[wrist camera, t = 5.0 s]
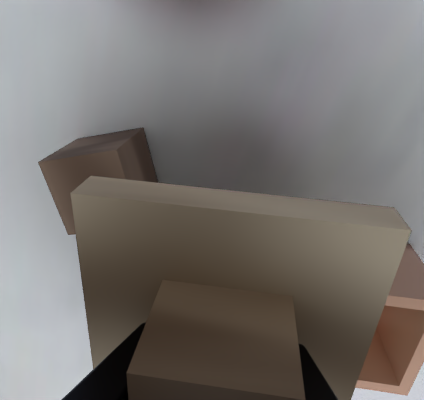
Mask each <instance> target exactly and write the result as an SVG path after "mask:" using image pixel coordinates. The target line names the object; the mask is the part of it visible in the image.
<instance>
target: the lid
mask: <svg viewBox="0 0 424 400" xmlns="http://www.w3.org/2000/svg"><path fill="white" fill-rule="evenodd" d="M70 194H71V201H72V209H73V217H74V224H75V232H76V240H77V247H78V255H79V263H80V270H81V278H82V286H83V293H84V301H85V309H86V316H87V324H88V332H89V339H90V347H91V355H92V362H93V369H94V368H95V367H96V366H98V365H99V364H100V363H101V362H102V361H103V360H104V359H105V358H106V357H107V356H108V355H109V354H110V353H111V352H112V351H113V350H114V349H115V348H116V347H117V346H118V345H120V344H121V343H122V342H123V341H124V340H125V339H126V338H127V337H128V336H129V335H130V334H131V333H132V332H133V331H134V330H135V329H136V328H137V327H138V326H139V325H140V324H142V323H144V322H146V324H145V326H144V329H143V332H142V334H141V337H140V339H139V342H138V345H137V347H136V350H135V352H134V355H133V357H132V360H131V363H130V365H129V368H128V370H127V373H126V374H127V388H128V400H305V392H304V384H303V376H302V368H301V360H300V352H299V344H302V345H304V346H305V347H306V349H307V351H308V352H309V354H310V355H311V357H312V359H313V360H314V362H315V363H316V365H317V367H318V368H319V370H320V371H321V373H322V375H323V376H324V378H325V379H326V381H327V382H328V384H329V386H330V387H331V389H332V390H333V392H334V394H335V395H336V397H337V398H338V400H351V397H352V395H353V392H354V389H355V386H356V383H357V381H358V378H359V375H360V372H361V370H362V367H363V364H364V361H365V359H366V356H367V353H368V350H369V347H370V345H371V342H372V339H373V336H374V334H375V331H376V328H377V325H378V322H379V320H380V317H381V314H382V311H383V309H384V306H385V303H386V300H387V297H388V295H389V292H390V289H391V286H392V284H393V281H394V278H395V275H396V273H397V270H398V267H399V264H400V261H401V259H402V256H403V253H404V250H405V248H406V245H407V242H408V239H409V236H410V234H411V231H412V230H411V229H410V228H409V226H408V225H407V224H406V222H405V221H404V220H403V218H402V217H401V216H400V214H399V213H398V212H397V210H396V209H395V208H394V207H385V206H375V205H366V204H356V203H347V202H337V201H328V200H318V199H308V198H299V197H289V196H280V195H270V194H261V193H251V192H241V191H232V190H222V189H213V188H203V187H193V186H184V185H174V184H165V183H155V182H146V181H136V180H126V179H117V178H107V177H98V176H90V177H89V178H87V179H86V180H85V181H84V182H83V183H82V184H80V185H79V186H78V187H77V188H76V189H75V190H74V191H72V192H71V193H70Z"/></svg>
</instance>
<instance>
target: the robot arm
mask: <svg viewBox="0 0 424 400" xmlns="http://www.w3.org/2000/svg"><path fill="white" fill-rule="evenodd" d="M145 324H146V322H144V323H142V324H140V325H139V326H138V327H137V328H136V329H135V330H134V331H133V332H132V333H131V334H130V335H129V336H128V337H127V338H126V339H125V340H124V341H123V342H122V343H121V344H120V345H118V346H117V347H116V348H115V349H114V350H113V351H112V352H111V353H110V354H109V355H108V356H107V357H106V358H105V359H104V360H103V361H102V362H101V363H100V364H99V365H98V366H96V367H95V368H94V369H93V370H92V371H91V372H90V373H89V374H88V375H87V376H86V377H85V378H84V379H83V380H82V381H81V382H80V383H79V384H78V385H77V386H76V387H75V388H73V389H72V390H71V391H70V392H69V393H68V394H67V395H66V396H65V397H64V398H63V399H62V400H128V388H127V374H126V373H127V370H128V368H129V365H130V363H131V360H132V357H133V355H134V352H135V350H136V347H137V345H138V342H139V339H140V337H141V334H142V332H143V329H144V326H145ZM299 352H300V360H301V368H302V376H303V384H304V392H305V400H338V398H337V397H336V395H335V394H334V392H333V390H332V389H331V387H330V386H329V384H328V382H327V381H326V379H325V378H324V376H323V375H322V373H321V371H320V370H319V368H318V367H317V365H316V363H315V362H314V360H313V359H312V357H311V355H310V354H309V352H308V351H307V349H306V347H305V346H304V345H302V344H299Z"/></svg>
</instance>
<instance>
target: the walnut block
mask: <svg viewBox="0 0 424 400" xmlns="http://www.w3.org/2000/svg"><path fill="white" fill-rule="evenodd" d="M38 163H39V166H40V168H41V171H42V173H43V175H44V178H45V180H46V183H47V185H48V187H49V190H50V192H51V195H52V197H53V199H54V202H55V204H56V207H57V209H58V211H59V214H60V216H61V219H62V221H63V223H64V226H65V228H66V231H67V233H68V235H72V234H76V232H75V224H74V217H73V209H72V201H71V194H70V193H71V192H72V191H74V190H75V189H76V188H77V187H78V186H79V185H80V184H82V183H83V182H84V181H85V180H86V179H87V178H89V177H90V176H98V177H107V178H117V179H126V180H136V181H146V182H155V183H158V180H157V176H156V173H155V169H154V166H153V162H152V158H151V155H150V151H149V147H148V144H147V140H146V136H145V133H144V129H143V128H138V129H132V130H126V131H120V132H115V133H109V134H103V135H97V136H91V137H85V138H79V139H76V140H75V141H73V142H71V143H70V144H68V145H66V146H65V147H63V148H61V149H59V150H58V151H56V152H54V153H53V154H51V155H49V156H48V157H46V158H44V159H43V160H41V161H39V162H38Z"/></svg>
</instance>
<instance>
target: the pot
mask: <svg viewBox="0 0 424 400" xmlns="http://www.w3.org/2000/svg"><path fill="white" fill-rule="evenodd" d="M423 362H424V264H423V262H422V261H421V259H420V258H419V256H418V255H417V254H416V252H415V251H414V249H413V248H412V246H411V245H410V244H407V245H406V248H405V250H404V253H403V256H402V259H401V261H400V264H399V267H398V270H397V273H396V275H395V278H394V281H393V284H392V286H391V289H390V292H389V295H388V297H387V300H386V303H385V306H384V309H383V311H382V314H381V317H380V320H379V322H378V325H377V328H376V331H375V334H374V336H373V339H372V342H371V345H370V347H369V350H368V353H367V356H366V359H365V361H364V364H363V367H362V370H361V372H360V375H359V378H358V381H357V383H356V386H355V387H356V388H362V389H369V390H375V391H381V392H388V393H394V394H401V395H408V393H409V391H410V389H411V387H412V385H413V383H414V381H415V379H416V377H417V374H418V372H419V370H420V368H421V366H422V364H423Z"/></svg>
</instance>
